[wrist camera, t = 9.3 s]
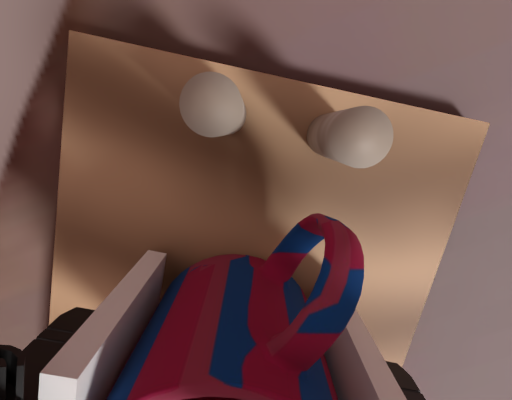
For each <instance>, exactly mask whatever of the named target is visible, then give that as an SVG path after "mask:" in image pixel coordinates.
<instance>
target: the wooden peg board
mask: <svg viewBox="0 0 512 400" xmlns="http://www.w3.org/2000/svg"><path fill="white" fill-rule="evenodd" d="M489 125H490V123H487V122H483V121H478V120H474V119H469V118H465V117H460V116H456V115H451V114H446V113H442V112H437V111H433V110H428V109H424V108H419V107H415V106H410V105H406V104H401V103H397V102H392V101H388V100H383V99H379V98H374V97H370V96H365V95H361V94H356V93H352V92H347V91H343V90H338V89H334V88H329V87H325V86H320V85H315V84H311V83H306V82H302V81H297V80H293V79H288V78H284V77H279V76H275V75H270V74H266V73H261V72H257V71H252V70H248V69H243V68H239V67H234V66H230V65H225V64H221V63H216V62H212V61H207V60H203V59H198V58H194V57H189V56H185V55H180V54H175V53H171V52H166V51H162V50H157V49H153V48H148V47H144V46H139V45H135V44H130V43H126V42H121V41H117V40H112V39H108V38H103V37H99V36H94V35H90V34H85V33H81V32H76V31H72V30H69V38H68V52H67V67H66V82H65V96H64V111H63V126H62V140H61V155H60V169H59V184H58V199H57V213H56V228H55V243H54V257H53V272H52V286H51V301H50V316H49V325H50V324H51V323H52V322H53V321H54V320H55V319H56V318H57V317H58V316H59V315H61V314H63V313H65V312H67V311H69V310H71V309H73V308H75V307H80V308H86V309H91V310H96V309H97V308H98V306H99V305H100V304H101V303H102V302H103V301H104V300H105V298H106V297H107V296H108V295H109V294H110V293H111V292H112V291H113V289H114V288H115V287H116V286H117V285H118V284H119V283H120V281H121V280H122V279H123V278H124V277H125V276H126V275H127V274H128V272H129V271H130V270H131V269H132V268H133V267H134V266H135V265H136V263H137V262H138V261H139V260H140V259H141V258H142V257H143V255H144V254H145V253H146V252H147V251H148V250H151V251H156V252H162V253H167V255H166V262H165V268H164V275H163V281H162V288H161V294H160V300H161V299H162V297H163V295H164V293H165V292H166V290H167V289H168V287H169V286H170V284H171V282H172V281H173V280H174V279H175V278H176V277H177V276H178V275H179V274H180V273H181V272H183V271H184V270H185V269H187V268H188V267H190V266H191V265H193V264H195V263H197V262H199V261H201V260H204V259H207V258H210V257H214V256H217V255H227V254H241V255H249V256H254V257H258V258H261V259H264V260H267V259H268V257H269V256H270V255H271V254H272V252H273V251H274V250H275V249H276V247H277V246H278V245H279V244H280V242H281V241H282V240H283V239H284V237H285V236H286V235H287V234H288V233H289V232H290V231H291V229H292V228H293V227H294V226H295V225H296V224H297V223H298V222H300V221H301V220H303V219H304V218H306V217H307V216H309V215H311V214H316V213H320V214H323V215H326V216H328V217H331V218H334V219H337V220H339V221H340V222H342V223H343V224H344V225H346V226H347V227H348V228H349V229H351V230H352V231H353V232H354V233H355V234H356V236H357V238H358V240H359V242H360V244H361V246H362V251H363V255H364V280H363V286H362V292H361V296H360V298H359V301H358V304H357V306H356V310H357V312H358V313H359V315H360V317H361V319H362V321H363V322H364V324H365V326H366V328H367V329H368V331H369V333H370V335H371V337H372V338H373V340H374V342H375V344H376V345H377V347H378V349H379V351H380V353H381V354H382V356H383V358H384V360H385V361H388V362H394V363H398V364H399V365H400V366H401V367H402V366H403V363H404V360H405V358H406V355H407V352H408V349H409V347H410V344H411V341H412V338H413V335H414V333H415V330H416V327H417V324H418V322H419V319H420V316H421V313H422V311H423V308H424V305H425V302H426V299H427V297H428V294H429V291H430V288H431V286H432V283H433V280H434V277H435V275H436V272H437V269H438V266H439V263H440V261H441V258H442V255H443V252H444V250H445V247H446V244H447V241H448V239H449V236H450V233H451V230H452V227H453V225H454V222H455V219H456V216H457V214H458V211H459V208H460V205H461V203H462V200H463V197H464V194H465V191H466V189H467V186H468V183H469V180H470V178H471V175H472V172H473V169H474V166H475V164H476V161H477V158H478V155H479V153H480V150H481V147H482V144H483V142H484V139H485V136H486V133H487V130H488V128H489ZM324 251H325V239H323V240H322V241H321V242H319V243H318V244H317V245H316V246H315V247H314V248H313V249H312V250H311V251H310V252H309V253H308V254H307V255H306V256H305V258H304V259H303V260H302V261H301V263H300V264H299V266H298V267H297V269H296V270H295V272H294V274H293V275H292V278H293V279H294V280H295V281H296V282H297V284H298V285H299V286H300V287H301V289H302V290H303V292H304V294H305V296H306V298H307V299H308V298H309V296H310V294H311V292H312V290H313V288H314V285H315V283H316V281H317V278H318V276H319V273H320V270H321V266H322V262H323V258H324ZM159 302H160V301H159Z"/></svg>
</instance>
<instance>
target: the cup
mask: <svg viewBox="0 0 512 400" xmlns="http://www.w3.org/2000/svg"><path fill="white" fill-rule="evenodd" d="M323 239H325V251H324V258H323V262H322V266H321V270H320V273H319V276H318V278H317V281H316V283H315V285H314V288H313V290H312V292H311V294H310V296H309V298H308V299H307V298H306V296H305V294H304V292H303V290H302V289H301V287H300V286H299V285H298V284H297V282H296V281H295V280H294V279H293V278H292V275H293V274H294V272H295V270H296V269H297V267H298V266H299V264H300V263H301V261H302V260H303V259H304V258H305V256H306V255H307V254H308V253H309V252H310V251H311V250H312V249H313V248H314V247H315V246H316V245H317V244H318V243H319V242H321V241H322V240H323ZM363 280H364V255H363V251H362V246H361V244H360V242H359V240H358V238H357V236H356V234H355V233H354V232H353V231H352V230H351V229H349V228H348V227H347V226H346V225H344V224H343V223H342V222H340V221H339V220H337V219H334V218H331V217H328V216H326V215H323V214H320V213H316V214H311V215H309V216H307V217H306V218H304V219H303V220H301V221H300V222H298V223H297V224H296V225H295V226H294V227H293V228H292V229H291V231H290V232H289V233H288V234H287V235H286V236H285V237H284V239H283V240H282V241H281V242H280V244H279V245H278V246H277V247H276V249H275V250H274V251H273V252H272V254H271V255H270V256H269V257H268V259H267V260H264V259H261V258H258V257H254V256H249V255H241V254H227V255H217V256H214V257H210V258H207V259H204V260H201V261H199V262H197V263H195V264H193V265H191V266H190V267H188V268H187V269H185V270H184V271H183V272H181V273H180V274H179V275H178V276H177V277H176V278H175V279H174V280H173V281H172V282H171V284H170V286H169V287H168V289H167V290H166V292H165V293H164V295H163V297H162V299H161V300H160V302H159V304H158V306H157V308H156V309H155V311H154V313H153V315H152V316H151V318H150V320H149V322H148V324H147V325H146V327H145V329H144V331H143V333H142V334H141V336H140V338H139V340H138V342H137V343H136V345H135V347H134V349H133V351H132V352H131V354H130V356H129V358H128V360H127V361H126V363H125V365H124V367H123V369H122V370H121V372H120V374H119V376H118V378H117V379H116V381H115V383H114V385H113V386H112V388H111V390H110V392H109V394H108V395H107V397H106V399H105V400H338V397H337V394H336V391H335V388H334V384H333V381H332V378H331V375H330V371H329V368H328V365H327V362H326V358H325V355H324V353H325V352H326V351H327V350H328V349H329V348H330V347H331V346H332V345H333V344H334V342H335V341H336V340H337V338H338V337H339V336H340V335H341V333H342V332H343V331H344V329H345V327H346V326H347V324H348V322H349V320H350V319H351V317H352V315H353V314H354V312H355V309H356V306H357V304H358V301H359V298H360V296H361V292H362V286H363Z"/></svg>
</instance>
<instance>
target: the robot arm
mask: <svg viewBox="0 0 512 400" xmlns="http://www.w3.org/2000/svg"><path fill="white" fill-rule="evenodd" d="M166 255H167V253H162V252H156V251H151V250H148V251H147V252H146V253H145V254H144V255H143V257H142V258H141V259H140V260H139V261H138V262H137V263H136V265H135V266H134V267H133V268H132V269H131V270H130V271H129V272H128V274H127V275H126V276H125V277H124V278H123V279H122V280H121V281H120V283H119V284H118V285H117V286H116V287H115V288H114V289H113V291H112V292H111V293H110V294H109V295H108V296H107V297H106V298H105V300H104V301H103V302H102V303H101V304H100V305H99V306H98V308H97V309H96V310H91V309H86V308H80V307H75V308H73V309H71V310H69V311H67V312H65V313H63V314H61V315H59V316H58V317H57V318H56V319H55V320H54V321H53V322H52V323H51V324H50V325H49V326H48V327H47V329H45V330H44V331H43V332H42V333H40V334H39V335H38V336H37V338H36V339H34V340H33V341H32V342H31V343H30V344H29V345H28V346H27V347H26V348H25V349H24V350H23V351H21V349H18V348H16V347H13V346H11V345H0V400H105V399H106V397H107V395H108V394H109V392H110V390H111V388H112V386H113V385H114V383H115V381H116V379H117V378H118V376H119V374H120V372H121V370H122V369H123V367H124V365H125V363H126V361H127V360H128V358H129V356H130V354H131V352H132V351H133V349H134V347H135V345H136V343H137V342H138V340H139V338H140V336H141V334H142V333H143V331H144V329H145V327H146V325H147V324H148V322H149V320H150V318H151V316H152V315H153V313H154V311H155V309H156V308H157V306H158V304H159V301H160V294H161V288H162V281H163V275H164V268H165V262H166ZM324 355H325V358H326V362H327V365H328V368H329V371H330V375H331V378H332V381H333V384H334V388H335V391H336V394H337V397H338V400H426V399H425V398H424V396H423V395H422V394H420V390H419V388H418V387H417V385H416V384H415V382H414V380H413V379H412V377H411V376H410V375H409V374H408V373H407V372H406V371H405V370H404V369H403V368H402V367H401V366H400V365H399V364H398V363H394V362H388V361H385V360H384V358H383V356H382V354H381V353H380V351H379V349H378V347H377V345H376V344H375V342H374V340H373V338H372V337H371V335H370V333H369V331H368V329H367V328H366V326H365V324H364V322H363V321H362V319H361V317H360V315H359V313H358V312H357V310H356V309H355V312H354V314H353V315H352V317H351V319H350V320H349V322H348V324H347V326H346V327H345V329H344V331H343V332H342V333H341V335H340V336H339V337H338V338H337V340H336V341H335V342H334V344H333V345H332V346H331V347H330V348H329V349H328V350H327V351H326V352H325V353H324Z"/></svg>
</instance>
